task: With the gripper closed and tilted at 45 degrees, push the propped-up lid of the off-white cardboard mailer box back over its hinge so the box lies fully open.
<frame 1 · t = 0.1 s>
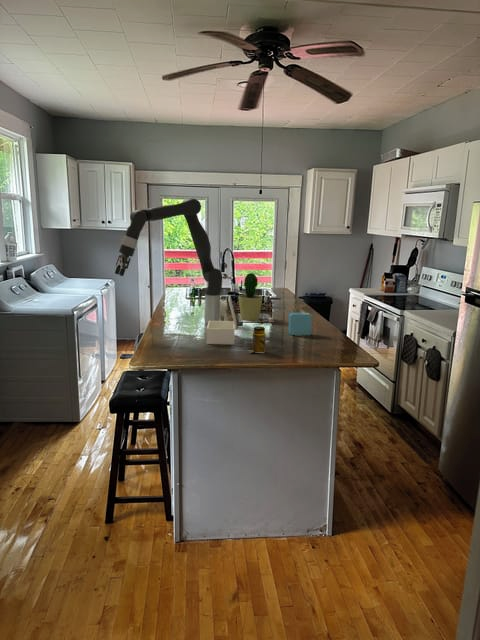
hand: (118, 274, 239), 31 cm above the table, tool tilted 20°, fingers open, 8 cm apart
data package: (299, 335, 249), on the table
condiment: (256, 352, 214), on the table
mailer box: (221, 339, 235), on the table
potted cactus: (249, 319, 286), on the table
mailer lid: (232, 311, 232), point 15 cm above the table, hinge at 75.0°
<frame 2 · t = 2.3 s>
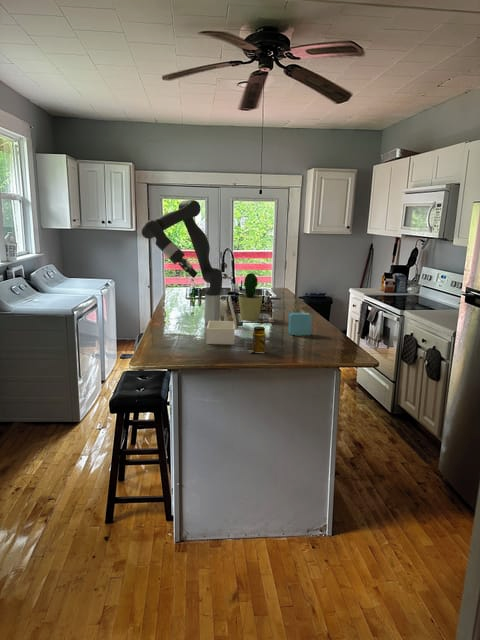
hand: (195, 275, 233), 33 cm above the table, tool tilted 45°, fingers open, 8 cm apart
nothing on the table moved.
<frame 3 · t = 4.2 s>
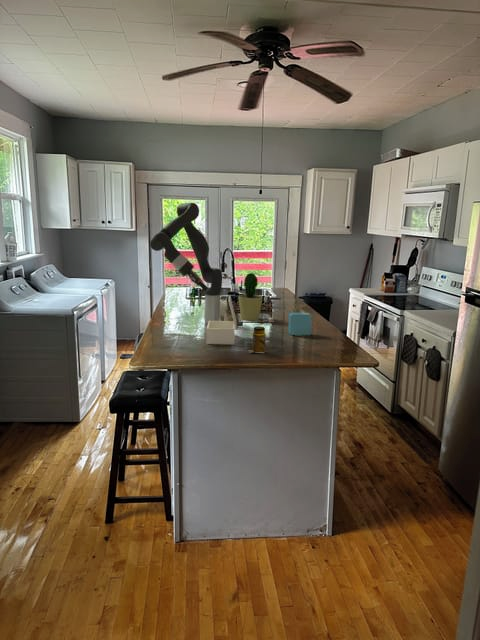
hand: (206, 289, 229), 26 cm above the table, tool tilted 45°, fingers closed
nothing on the table moved.
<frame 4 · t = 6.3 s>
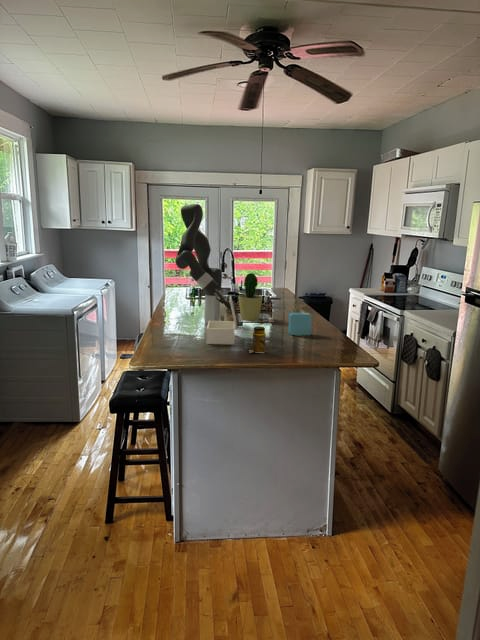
hand: (230, 307, 231), 17 cm above the table, tool tilted 45°, fingers closed
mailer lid: (233, 311, 232), point 15 cm above the table, hinge at 77.4°, touching gripper
everything else where it was.
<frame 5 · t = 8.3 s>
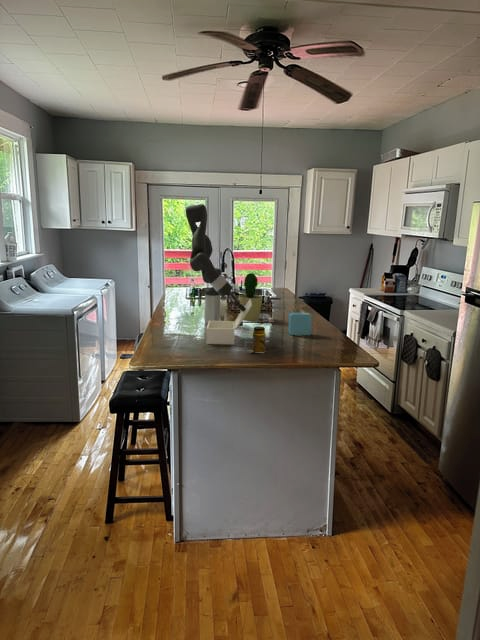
hand: (244, 310, 231), 16 cm above the table, tool tilted 45°, fingers closed
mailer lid: (243, 313, 232), point 14 cm above the table, hinge at 122.1°, touching gripper
everything else where it was.
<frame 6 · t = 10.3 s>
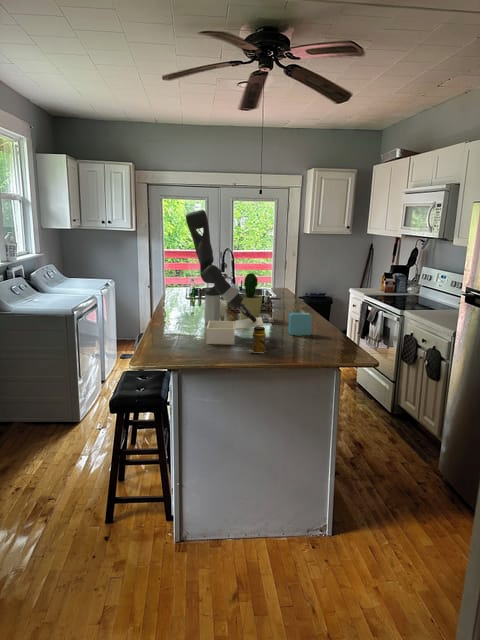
hand: (255, 321, 232), 10 cm above the table, tool tilted 45°, fingers closed
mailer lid: (248, 323, 233), point 9 cm above the table, hinge at 170.7°, touching gripper
everything else where it was.
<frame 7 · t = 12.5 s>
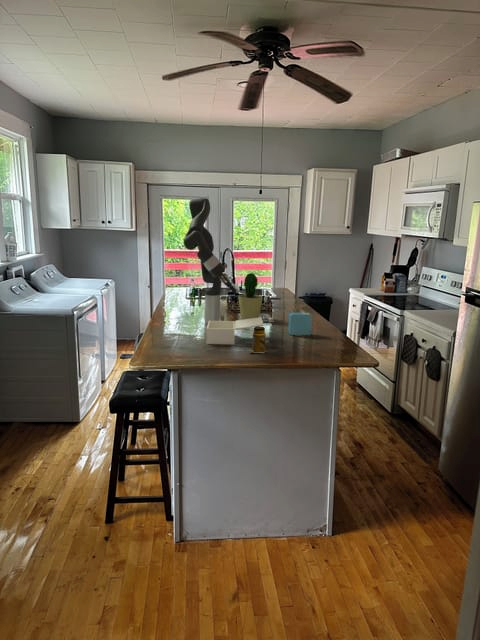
hand: (235, 292, 232), 25 cm above the table, tool tilted 40°, fingers closed
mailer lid: (248, 323, 233), point 9 cm above the table, hinge at 170.7°
everything else where it was.
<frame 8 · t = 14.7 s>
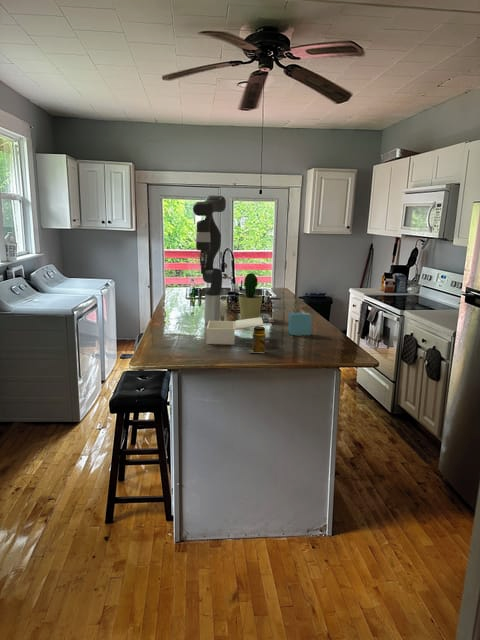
hand: (203, 273, 240), 33 cm above the table, tool pointing down, fingers closed
nothing on the table moved.
at the end: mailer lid at +171° (first picture: +75°); condiment moved 0.3 cm from its start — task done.
